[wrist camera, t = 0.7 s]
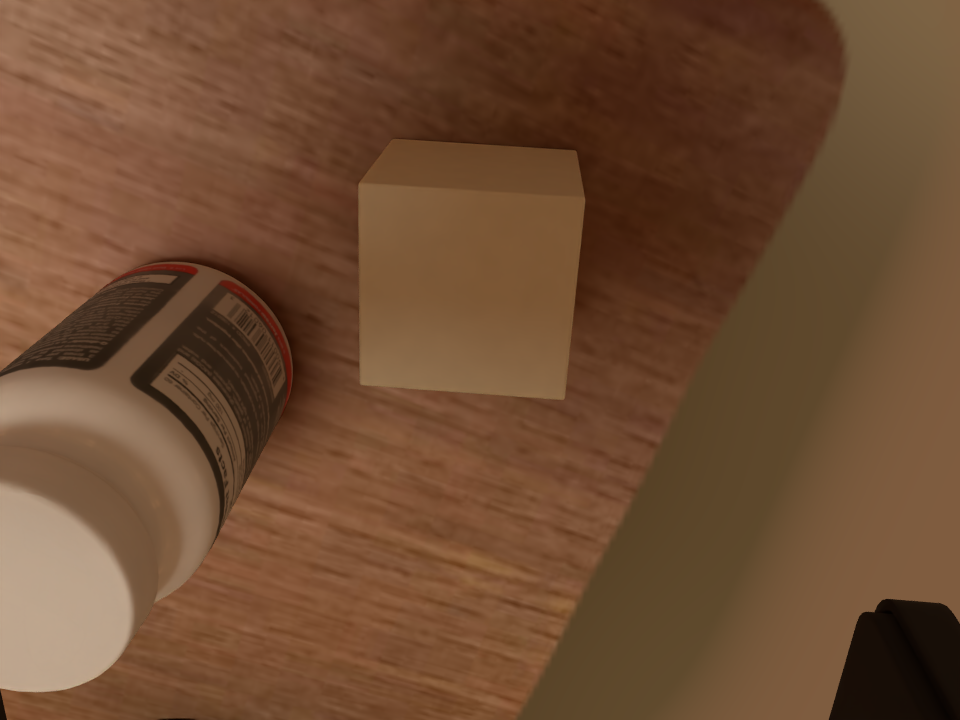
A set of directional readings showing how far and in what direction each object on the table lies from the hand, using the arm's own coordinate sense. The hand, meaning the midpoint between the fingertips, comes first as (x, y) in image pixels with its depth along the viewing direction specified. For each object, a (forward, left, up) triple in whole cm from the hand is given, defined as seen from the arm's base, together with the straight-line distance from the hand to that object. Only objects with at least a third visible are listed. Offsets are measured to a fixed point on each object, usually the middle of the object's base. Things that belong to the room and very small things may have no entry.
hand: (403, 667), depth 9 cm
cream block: (0, 0, -15) cm, 15 cm away
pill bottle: (+4, -8, -15) cm, 17 cm away
